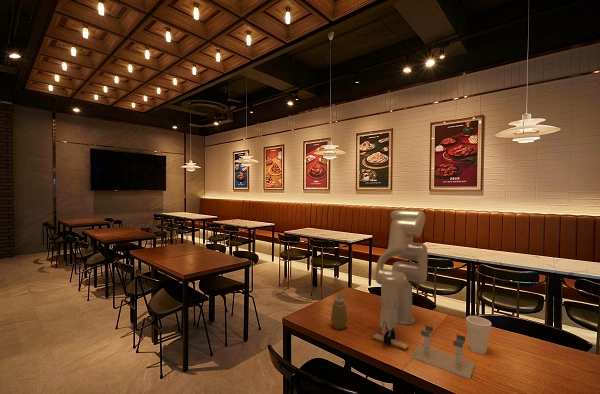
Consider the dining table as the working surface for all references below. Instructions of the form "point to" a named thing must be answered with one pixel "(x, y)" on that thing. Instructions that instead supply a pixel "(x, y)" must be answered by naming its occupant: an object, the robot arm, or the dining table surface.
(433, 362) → the hook stand
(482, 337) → the foam cup
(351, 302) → the dining table surface
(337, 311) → the squeeze bottle
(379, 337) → the candy bar
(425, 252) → the robot arm
